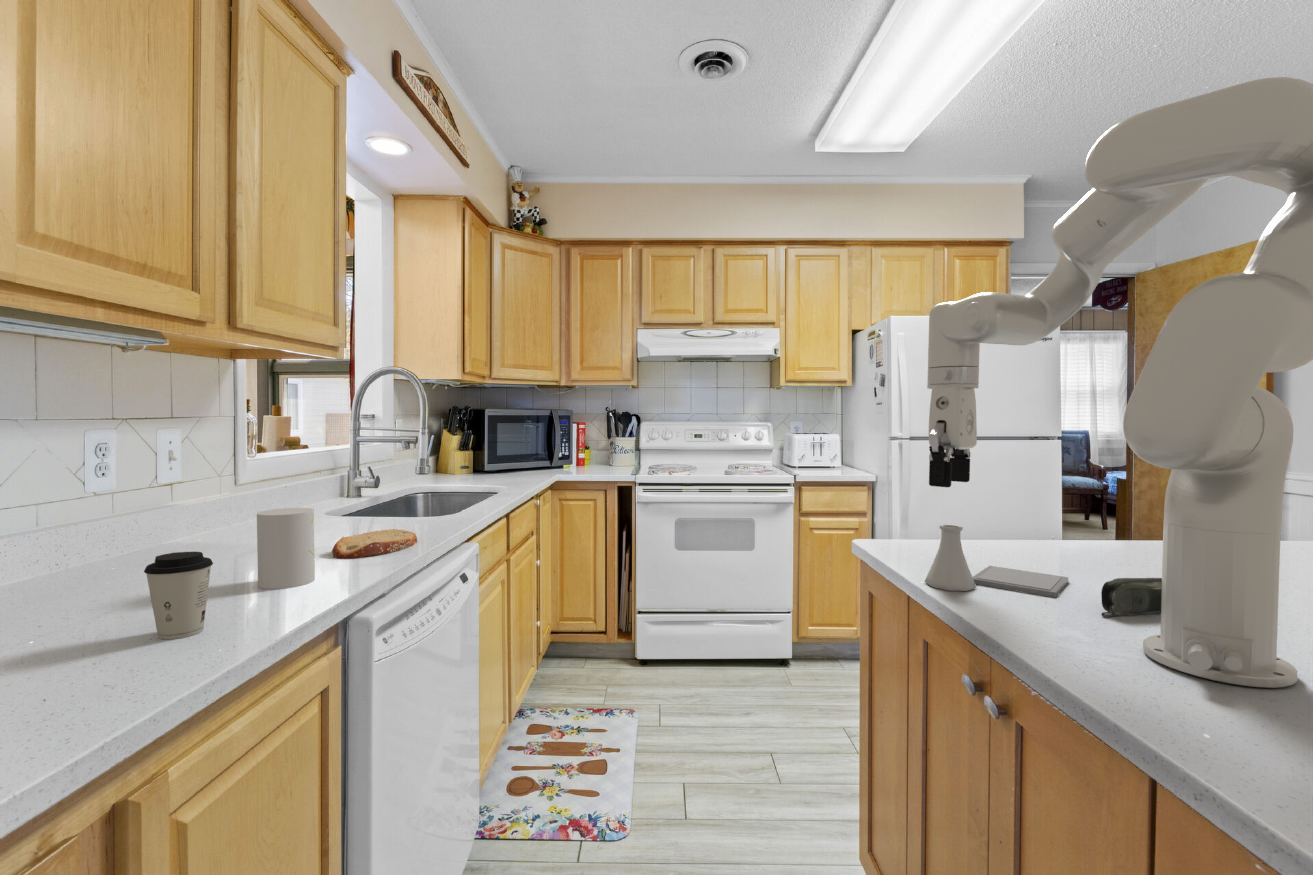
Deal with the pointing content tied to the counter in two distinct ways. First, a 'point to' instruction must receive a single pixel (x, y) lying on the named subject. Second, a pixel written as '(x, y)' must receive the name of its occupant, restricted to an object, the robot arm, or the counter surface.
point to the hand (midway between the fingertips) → (949, 483)
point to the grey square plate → (1021, 581)
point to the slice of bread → (373, 544)
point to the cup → (285, 548)
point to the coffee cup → (179, 593)
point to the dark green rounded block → (1131, 596)
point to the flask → (950, 563)
